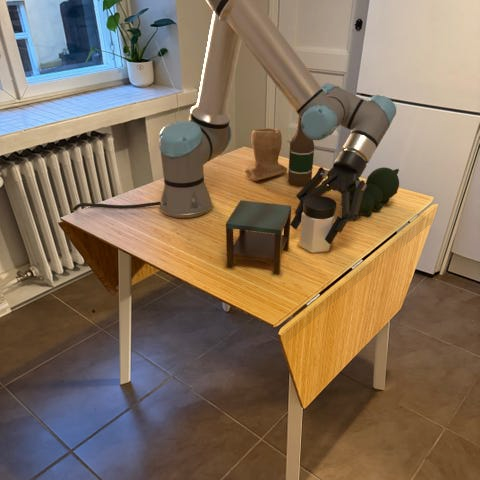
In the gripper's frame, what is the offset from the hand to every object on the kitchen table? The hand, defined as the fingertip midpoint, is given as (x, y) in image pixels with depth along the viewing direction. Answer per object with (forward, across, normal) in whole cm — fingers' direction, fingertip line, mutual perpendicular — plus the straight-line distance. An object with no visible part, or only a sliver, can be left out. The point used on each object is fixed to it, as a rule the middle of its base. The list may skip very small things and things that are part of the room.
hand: (310, 234), depth 119 cm
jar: (+1, 0, -5) cm, 5 cm away
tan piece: (-17, +43, -24) cm, 52 cm away
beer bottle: (-20, +30, -26) cm, 44 cm away
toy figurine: (-19, +2, -25) cm, 31 cm away
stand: (+12, +6, +6) cm, 14 cm away
